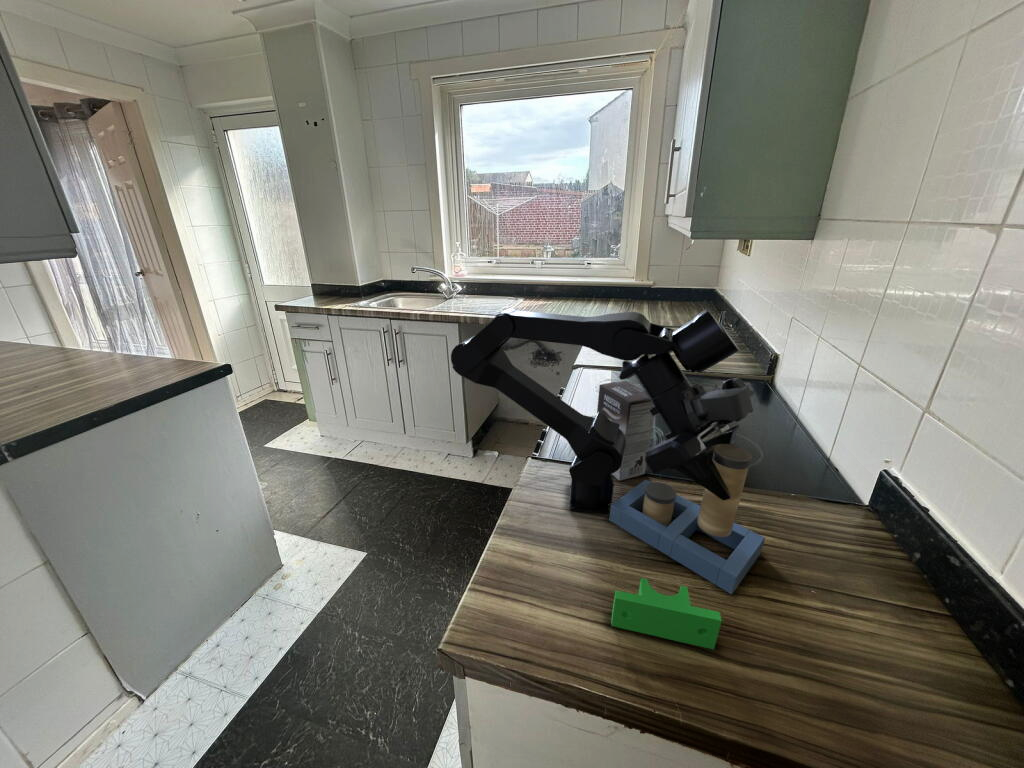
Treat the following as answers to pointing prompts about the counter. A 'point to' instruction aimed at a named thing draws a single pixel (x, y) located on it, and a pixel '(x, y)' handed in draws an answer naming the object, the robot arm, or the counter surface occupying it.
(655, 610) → the pipe clamp
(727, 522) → the wooden peg
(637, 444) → the coffee box
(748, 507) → the counter surface
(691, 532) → the socket block
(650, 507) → the short wooden cylinder
